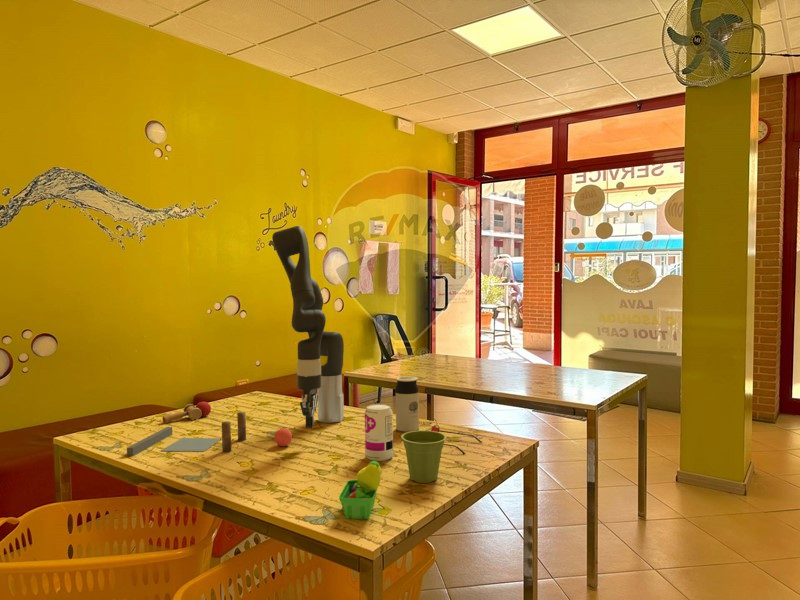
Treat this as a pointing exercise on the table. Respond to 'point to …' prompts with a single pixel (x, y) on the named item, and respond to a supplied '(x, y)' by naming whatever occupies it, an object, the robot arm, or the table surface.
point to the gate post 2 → (241, 426)
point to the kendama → (190, 412)
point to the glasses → (450, 432)
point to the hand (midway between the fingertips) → (309, 427)
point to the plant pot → (423, 454)
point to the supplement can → (378, 432)
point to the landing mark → (192, 444)
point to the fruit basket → (361, 492)
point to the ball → (283, 437)
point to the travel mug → (407, 404)
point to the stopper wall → (149, 441)
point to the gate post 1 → (226, 437)
